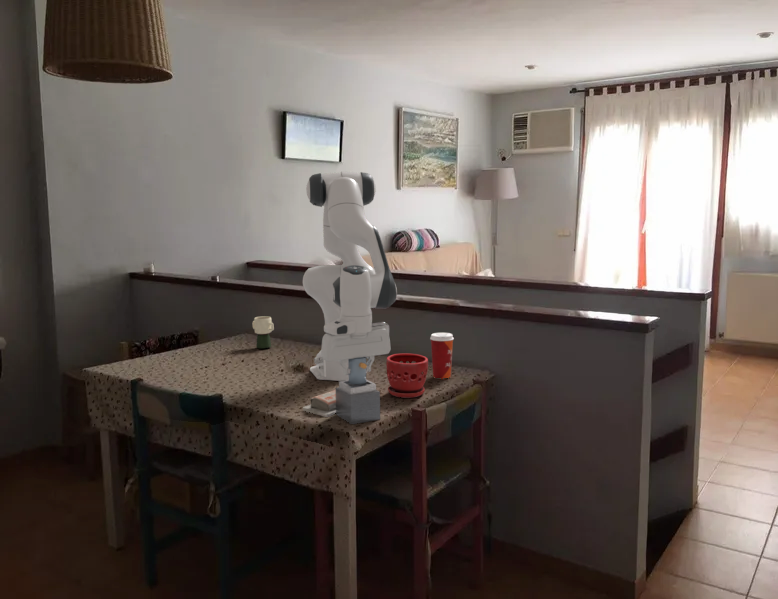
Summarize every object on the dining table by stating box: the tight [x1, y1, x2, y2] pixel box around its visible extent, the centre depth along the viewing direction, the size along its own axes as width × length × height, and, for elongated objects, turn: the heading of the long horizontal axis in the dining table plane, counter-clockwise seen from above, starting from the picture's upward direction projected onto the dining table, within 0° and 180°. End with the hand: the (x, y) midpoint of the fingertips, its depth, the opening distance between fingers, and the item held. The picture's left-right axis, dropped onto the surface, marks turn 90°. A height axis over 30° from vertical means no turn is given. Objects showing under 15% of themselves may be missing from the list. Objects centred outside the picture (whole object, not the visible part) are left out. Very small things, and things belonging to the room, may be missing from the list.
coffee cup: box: [429, 332, 455, 380], centre depth 232 cm, size 8×8×15 cm
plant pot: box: [386, 353, 429, 399], centre depth 212 cm, size 13×13×12 cm
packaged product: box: [302, 389, 336, 418], centre depth 201 cm, size 18×5×10 cm
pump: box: [348, 357, 367, 384], centre depth 188 cm, size 7×5×7 cm
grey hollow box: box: [335, 378, 381, 425], centre depth 191 cm, size 10×9×10 cm
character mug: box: [251, 315, 275, 349], centre depth 281 cm, size 11×7×13 cm, turn 62°
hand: (357, 372), depth 189 cm, fingers closed on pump, 5 cm apart
